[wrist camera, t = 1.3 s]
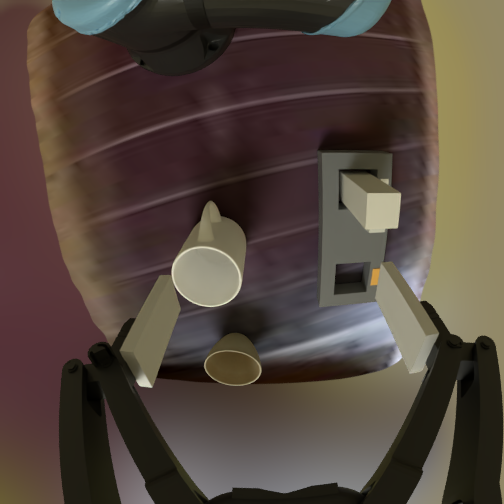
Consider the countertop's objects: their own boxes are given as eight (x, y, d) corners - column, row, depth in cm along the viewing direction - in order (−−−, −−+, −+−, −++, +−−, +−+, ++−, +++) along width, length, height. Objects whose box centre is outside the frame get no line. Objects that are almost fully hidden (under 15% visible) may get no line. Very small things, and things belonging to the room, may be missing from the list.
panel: (317, 150, 36) (321, 152, 33) (383, 151, 35) (392, 154, 32) (316, 296, 47) (319, 307, 44) (371, 291, 46) (376, 301, 43)
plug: (338, 170, 37) (367, 193, 26) (364, 170, 37) (401, 193, 26) (338, 204, 39) (364, 238, 29) (363, 203, 39) (396, 236, 28)
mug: (246, 191, 39) (239, 217, 30) (247, 265, 45) (242, 307, 35) (186, 192, 40) (162, 218, 30) (194, 264, 45) (177, 305, 35)
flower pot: (252, 317, 49) (250, 346, 43) (268, 353, 54) (268, 381, 47) (201, 328, 51) (194, 355, 45) (222, 361, 55) (217, 388, 49)
